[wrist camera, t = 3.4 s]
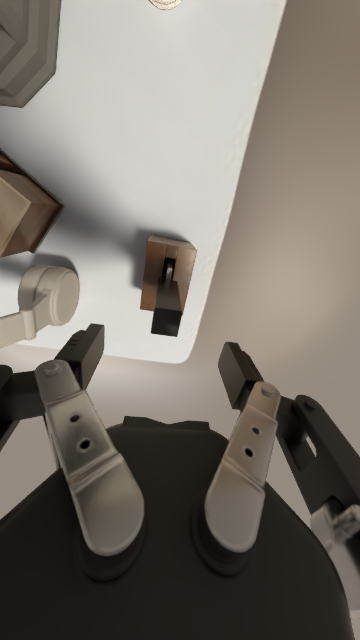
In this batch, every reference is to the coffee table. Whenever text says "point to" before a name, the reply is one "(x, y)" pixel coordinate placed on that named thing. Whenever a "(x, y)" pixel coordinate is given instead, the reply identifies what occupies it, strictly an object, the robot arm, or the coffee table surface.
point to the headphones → (41, 303)
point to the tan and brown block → (23, 209)
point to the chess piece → (165, 3)
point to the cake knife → (167, 305)
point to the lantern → (27, 48)
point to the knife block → (155, 261)
